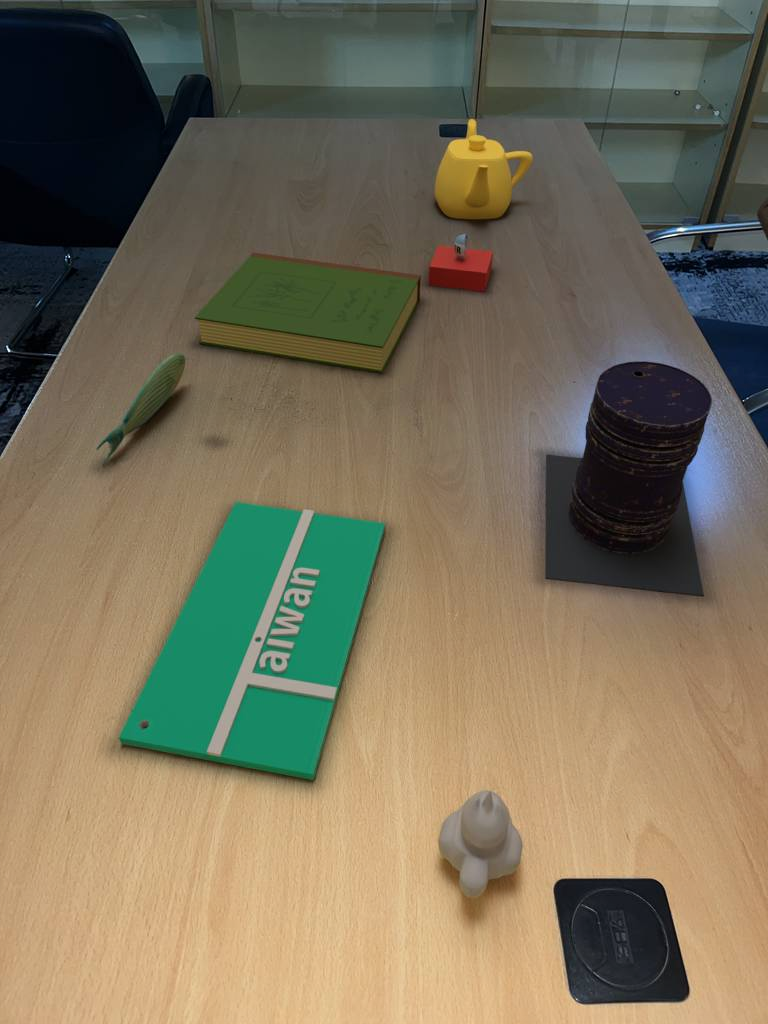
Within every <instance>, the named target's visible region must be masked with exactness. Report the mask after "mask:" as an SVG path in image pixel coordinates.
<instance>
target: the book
mask: <svg viewBox="0 0 768 1024" xmlns="http://www.w3.org/2000/svg"><path fill="white" fill-rule="evenodd" d="M421 280H422V279H421V275H420V274H415V273H405V272H399V271H392V270H384V269H377V268H369V267H362V266H357V265H356V266H355V265H347V264H341V263H333V262H326V261H318V260H312V259H304V258H298V257H297V258H295V257H290V256H283V255H275V254H267V253H260V252H252V253H251V254H250V255H249V256H248V257H247V258H246V259H245V261H244V262H243V263H242V264H241V265H240V266H239V267H238V268H237V269H236V271H234V273H232V275H231V276H230V277H229V278H228V280H226V282H225V283H224V284H223V285H222V286H221V288H220V289H218V291H217V292H216V293H214V295H213V296H212V297H211V299H210V300H209V301H208V302H207V303H206V304H205V305H204V306H203V307H202V308H201V310H200V311H199V312H198V313H197V314H196V315H195V316H194V319H195V320H197V322H198V328H199V334H200V340H199V341H198V344H200V345H204V346H209V347H210V346H212V347H218V348H222V349H223V348H224V349H228V350H229V349H230V350H235V351H242V352H246V353H247V352H248V353H254V354H261V355H267V356H273V357H279V358H285V359H289V360H290V359H291V360H297V361H303V362H310V363H314V364H315V363H316V364H321V365H327V366H333V367H340V368H345V369H352V370H358V371H365V372H370V373H376V374H377V373H378V374H383V373H384V371H385V370H386V368H387V366H388V364H389V362H390V360H391V358H392V356H393V354H394V352H395V350H396V348H397V347H398V344H399V342H400V340H401V338H402V336H403V334H404V333H405V330H406V329H407V326H408V325H409V323H410V320H411V319H412V317H413V315H414V313H415V311H416V309H417V307H418V305H419V303H420V299H421Z"/></svg>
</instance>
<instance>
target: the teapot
mask: <svg viewBox="0 0 768 1024" xmlns="http://www.w3.org/2000/svg"><path fill="white" fill-rule="evenodd" d="M533 158H534V157H533V155H532V153H531V152H530V151H525V150H517V151H516V150H515V151H510V152H506V151H505V149H504V147H503V146H502V145H501V143H500V142H498V141H497V140H494V139H487V137H485V136H483V135H479V134H478V132H477V121H476V120H475V119H474V118H470V119H469V120H468V121H467V131H466V136H465V138H463V139H462V138H461V139H460V138H459V139H454V140H452V141H451V142H450V143H449V144H448V146H447V148H446V150H445V152H444V154H443V157H442V159H441V162H440V164H439V167H438V169H437V172H436V178H435V182H434V192H433V193H434V197H435V200H436V203H437V205H438V207H439V208H440V210H441V212H442V213H443V214H444V215H445V216H447V217H448V218H452V219H456V220H457V219H458V220H459V219H460V220H492V219H498V218H500V217H502V216H503V215H504V214H505V212H506V211H507V209H508V207H509V206H510V203H511V201H512V194H513V188H514V187H515V185H517V183H519V181H521V179H522V178H523V177H524V176H525V174H526V173H528V171H529V169H530V168H531V165H532V163H533V160H534V159H533ZM509 160H520V164H519V166H518V168H517V170H516V172H515V174H514V175H513V177H512V174H511V169H510V164H509Z"/></svg>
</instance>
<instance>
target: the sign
mask: <svg viewBox="0 0 768 1024" xmlns="http://www.w3.org/2000/svg"><path fill="white" fill-rule="evenodd" d="M315 511H316V510H312V509H306V508H305V509H303V510H297V509H296V510H295V509H288V508H282V507H274V506H269V505H262V504H261V505H260V504H253V503H246V502H240V501H235V502H234V504H233V507H232V509H231V510H230V512H229V515H228V517H227V518H226V521H225V523H224V524H223V527H222V529H221V530H220V533H219V535H218V537H217V539H216V541H215V543H214V544H213V547H212V549H211V551H210V553H209V555H208V557H207V559H206V561H205V562H204V565H203V567H202V569H201V571H200V573H199V575H198V577H197V579H196V581H195V582H194V585H193V587H192V589H191V591H190V593H189V595H188V597H187V599H186V601H185V603H184V605H183V607H182V608H181V611H180V613H179V615H178V617H177V619H176V621H175V623H174V625H173V627H172V630H171V631H170V632H169V635H168V637H167V639H166V641H165V644H164V645H163V647H162V649H161V651H160V653H159V655H158V657H157V659H156V661H155V663H154V665H153V667H152V670H151V672H150V673H149V676H148V677H147V679H146V681H145V684H144V685H143V687H142V688H141V689H142V690H141V692H140V693H139V696H138V698H137V700H136V702H135V703H134V706H133V708H132V710H131V711H130V714H129V716H128V718H127V720H126V721H125V724H124V726H123V727H122V730H121V732H120V734H119V736H118V740H119V742H120V744H122V745H127V746H131V747H132V746H133V747H137V748H143V749H147V750H152V751H153V750H154V751H159V752H164V753H168V754H174V755H178V756H185V757H190V758H195V759H199V760H200V759H201V760H205V761H211V762H217V763H221V764H228V765H230V766H231V765H232V766H237V767H243V768H247V769H254V770H258V771H264V772H269V773H275V774H279V775H285V776H290V777H294V778H295V777H296V778H300V779H306V780H310V781H311V780H312V781H314V780H315V776H316V774H317V770H318V766H319V763H320V759H321V756H322V752H323V749H324V745H325V742H326V738H327V734H328V731H329V728H330V725H331V721H332V717H333V714H334V710H335V706H336V702H337V699H338V696H339V692H340V690H341V689H340V688H341V685H342V683H343V678H344V675H345V672H346V668H347V665H348V661H349V658H350V654H351V650H352V647H353V643H354V640H355V636H356V633H357V630H358V626H359V622H360V619H361V616H362V611H363V608H364V605H365V601H366V598H367V594H368V591H369V588H370V585H371V580H372V576H373V573H374V570H375V566H376V563H377V560H378V556H379V552H380V548H381V545H382V541H383V538H384V535H385V531H386V522H378V521H372V520H365V519H358V518H352V517H344V516H339V515H338V516H337V515H331V514H330V515H329V514H324V513H317V512H315Z"/></svg>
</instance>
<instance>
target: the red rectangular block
mask: <svg viewBox="0 0 768 1024" xmlns="http://www.w3.org/2000/svg"><path fill="white" fill-rule="evenodd" d="M493 256H494V251H491V250H483V249H482V250H481V249H473V248H468V234H467V233H463V234H459V235H458V236H457V237H456V239H455V241H454V246H446V245H438V246H437V248H436V250H435V252H434V255H433V258H432V259H431V261H430V264H429V269H428V286H433V287H441V288H450V289H459V290H468V291H476V292H485V291H486V288H487V285H488V282H489V279H490V275H491V272H492V269H493V258H494V257H493Z"/></svg>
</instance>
